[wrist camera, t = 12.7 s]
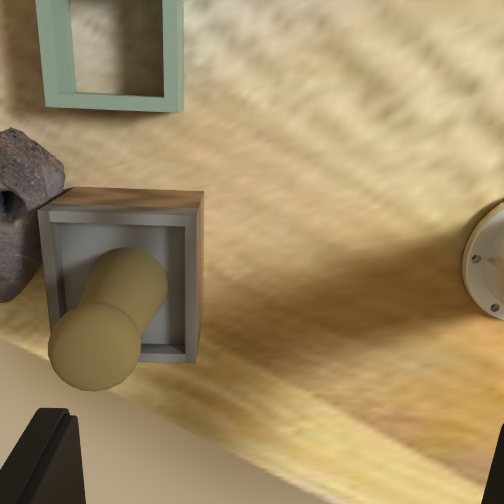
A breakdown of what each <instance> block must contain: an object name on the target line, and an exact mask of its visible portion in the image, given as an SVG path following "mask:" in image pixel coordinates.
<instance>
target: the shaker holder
mask: <svg viewBox="0 0 504 504" xmlns="http://www.w3.org/2000/svg"><path fill="white" fill-rule="evenodd" d="M35 3H36V13H37V23H38V34H39V44H40V54H41V64H42V75H43V85H44V95H45V106H46V107H58V108H81V109H105V110H128V111H152V112H175V113H178V112H180V111H183V110H184V41H183V0H162V6H163V62H164V96H149V95H126V94H103V93H81V92H76V85H75V72H74V59H73V46H72V33H71V19H70V6H69V0H35Z"/></svg>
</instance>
